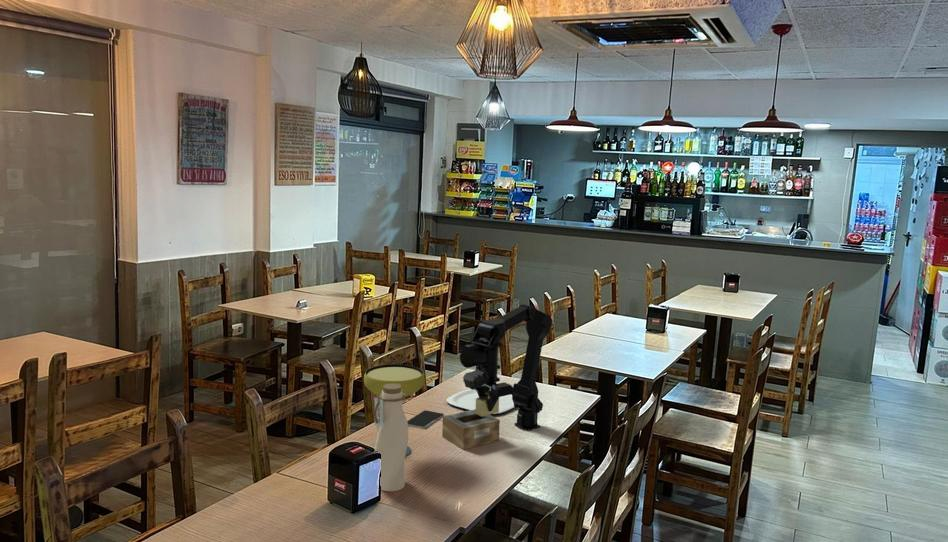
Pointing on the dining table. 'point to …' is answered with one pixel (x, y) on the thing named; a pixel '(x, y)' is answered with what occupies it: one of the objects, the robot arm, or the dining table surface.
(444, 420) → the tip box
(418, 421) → the smartphone
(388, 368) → the cocktail glass
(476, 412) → the wooden block
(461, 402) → the plate
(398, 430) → the water bottle
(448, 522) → the dining table surface
